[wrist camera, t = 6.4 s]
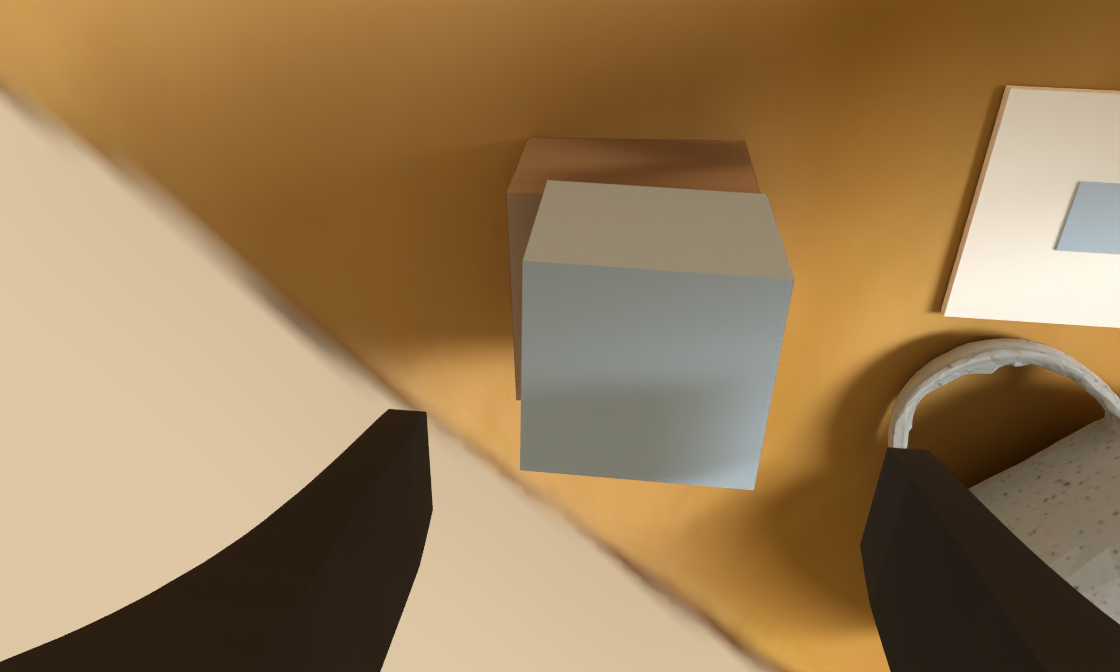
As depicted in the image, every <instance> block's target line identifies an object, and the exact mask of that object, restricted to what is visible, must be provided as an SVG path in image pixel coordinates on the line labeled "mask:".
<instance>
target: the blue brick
mask: <svg viewBox="0 0 1120 672" xmlns="http://www.w3.org/2000/svg"><path fill="white" fill-rule="evenodd" d="M793 284H794V277H793V274H792V271H791V268H790V265H789V262H788V259H787V255H786V252H785V249H784V246H783V243H782V240H781V237H780V234H779V231H778V227H777V224H776V221H775V218H774V215H773V212H772V209H771V206H770V203H769V199H768V196H767V194H757V193H741V192H725V191H710V190H694V189H679V188H663V187H648V186H632V185H616V184H601V183H585V182H570V181H554V180H547V183H546V186H545V190H544V193H543V196H542V199H541V203H540V206H539V209H538V212H537V216H536V219H535V222H534V225H533V229H532V232H531V235H530V238H529V242H528V245H527V248H526V251H525V255H524V258H523V273H522V360H521V448H520V470H525V471H536V472H548V473H560V474H571V475H583V476H594V477H606V478H618V479H629V480H641V481H652V482H664V483H675V484H687V485H699V486H710V487H722V488H733V489H745V490H754V486H755V481H756V476H757V471H758V465H759V460H760V455H761V450H762V445H763V439H764V434H765V429H766V424H767V419H768V413H769V408H770V403H771V398H772V393H773V388H774V382H775V377H776V372H777V367H778V362H779V356H780V351H781V346H782V341H783V336H784V330H785V325H786V320H787V315H788V310H789V304H790V299H791V294H792V289H793Z"/></svg>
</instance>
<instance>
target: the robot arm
mask: <svg viewBox="0 0 1120 672" xmlns="http://www.w3.org/2000/svg"><path fill="white" fill-rule="evenodd" d="M432 511H433V506H432V490H431V475H430V460H429V446H428V429H427V414H426V412H421V411H408V410H395V409H388V410H387V411H386V412H385V413H384V414H382V415H381V416H380V417H379V418H378V419H377V420H376V421H375V422H374V423H373V424H372V425H371V426H370V427H369V428H368V429H367V430H366V431H365V432H364V433H363V434H362V435H361V436H360V437H359V438H357V439H356V441H355V442H353V443H352V444H351V445H350V446H349V447H348V448H347V449H346V450H345V451H344V452H343V453H342V454H341V455H340V456H339V457H338V458H336V459H335V460H334V461H333V462H332V463H331V464H330V465H329V466H328V467H327V468H326V469H324V470H323V471H322V472H321V473H320V474H319V475H318V476H317V477H315V478H314V479H313V480H312V481H311V482H310V483H309V484H308V485H307V486H305V488H303V489H302V490H301V491H300V492H299V493H297V494H296V495H295V496H294V497H292V498H291V499H290V500H289V501H287V502H286V503H285V504H284V505H283V506H281V507H280V508H279V509H278V510H276V511H275V512H274V513H273V514H271V515H270V516H269V517H268V518H267V519H265V520H264V521H263V522H261V523H260V524H259V525H257V526H256V527H255V528H254V529H252V530H251V531H250V532H248V533H247V534H246V535H244V536H243V537H241V538H240V539H238V540H237V541H235V542H234V543H232V544H231V545H230V546H228V547H226V548H225V549H223V550H222V551H220V552H219V553H218V554H216V555H215V556H213V557H211V558H210V559H208V560H207V561H205V562H204V563H202V564H200V565H199V566H197V567H195V568H193V569H192V570H190V571H188V572H187V573H185V574H183V575H181V576H180V577H178V578H176V579H175V580H173V581H171V582H169V583H168V584H166V585H164V586H162V587H161V588H159V589H157V590H156V591H154V592H152V593H150V594H149V595H147V596H145V597H143V598H141V599H139V600H137V601H136V602H133V603H132V604H129V605H128V606H125V607H124V608H122V609H120V610H118V611H116V612H114V613H112V614H110V615H108V616H105V617H104V618H101V619H99V620H97V621H95V622H93V623H91V624H89V625H86V626H85V627H82V628H80V629H78V630H76V631H73V632H71V633H69V634H67V635H64V636H62V637H60V638H58V639H55V640H53V641H50V642H48V643H45V644H43V645H40V646H38V647H36V648H33V649H31V650H28V651H26V652H23V653H21V654H18V655H16V656H13V657H11V658H8V659H6V660H4V661H1V662H0V672H380V671H381V668H382V666H383V663H384V660H385V658H386V655H387V652H388V650H389V647H390V644H391V641H392V639H393V636H394V634H395V631H396V628H397V626H398V623H399V620H400V618H401V615H402V612H403V609H404V607H405V604H406V601H407V599H408V596H409V594H410V591H411V588H412V585H413V583H414V580H415V577H416V574H417V572H418V569H419V566H420V562H421V558H422V553H423V550H424V546H425V542H426V537H427V532H428V529H429V524H430V519H431V515H432ZM860 547H861V554H862V560H863V566H864V573H865V579H866V584H867V590H868V595H869V601H870V606H871V609H872V613H873V616H874V619H875V623H876V626H877V629H878V632H879V636H880V639H881V642H882V645H883V649H884V652H885V655H886V658H887V661H888V665H889V668H890V671H891V672H1120V624H1119V623H1117V622H1116V621H1115V620H1113V619H1112V618H1111V617H1109V616H1108V615H1107V614H1105V613H1104V612H1103V611H1102V610H1100V609H1099V608H1098V607H1097V606H1095V605H1094V604H1093V603H1092V602H1090V601H1089V600H1088V599H1087V598H1085V597H1084V596H1083V595H1082V594H1081V593H1079V592H1078V591H1077V590H1076V589H1075V588H1074V587H1073V586H1071V585H1070V584H1069V583H1068V582H1067V581H1066V580H1064V579H1063V578H1062V577H1061V576H1060V575H1059V574H1057V573H1056V572H1055V571H1054V570H1053V569H1052V568H1050V567H1049V566H1048V565H1047V564H1046V563H1045V562H1044V561H1043V560H1041V559H1040V558H1039V557H1038V556H1037V555H1036V554H1035V553H1034V552H1033V551H1032V550H1030V549H1029V548H1028V547H1027V546H1026V545H1025V544H1024V543H1023V542H1022V541H1021V540H1020V539H1019V538H1018V537H1016V536H1015V535H1014V534H1013V533H1012V532H1011V531H1010V530H1009V529H1008V528H1007V527H1006V526H1005V525H1004V524H1003V523H1002V522H1001V521H1000V520H999V519H998V518H997V517H996V516H995V515H994V514H993V513H992V512H991V511H990V510H989V509H988V508H987V507H986V506H985V505H984V504H983V503H982V502H981V501H980V500H979V499H978V498H977V497H976V496H975V495H974V494H973V493H972V492H971V491H970V490H969V489H968V488H967V487H966V486H965V485H964V484H963V483H962V482H961V481H960V480H959V479H958V478H957V477H956V476H955V475H954V474H953V473H952V472H951V471H950V470H949V469H948V468H947V467H946V466H945V465H944V464H943V463H941V462H940V461H939V460H938V459H937V458H936V457H935V456H934V455H933V454H932V453H931V452H930V451H929V450H918V449H905V448H892V447H888V448H887V452H886V455H885V459H884V463H883V466H882V470H881V473H880V477H879V480H878V484H877V488H876V491H875V495H874V498H873V502H872V505H871V509H870V513H869V516H868V520H867V523H866V527H865V530H864V534H863V538H862V541H861V545H860Z"/></svg>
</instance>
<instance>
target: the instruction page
mask: <svg viewBox="0 0 1120 672" xmlns="http://www.w3.org/2000/svg"><path fill="white" fill-rule="evenodd" d="M941 312H942V314H943V315H944V316H950V317H965V318H980V319H995V320H1010V321H1025V322H1041V323H1056V324H1071V325H1086V326H1101V327H1116V328H1120V91H1114V90H1093V89H1073V88H1052V87H1031V86H1011V85H1006V87H1005V91H1004V94H1003V98H1002V101H1001V105H1000V108H999V112H998V115H997V119H996V122H995V125H994V129H993V132H992V136H991V139H990V143H989V146H988V150H987V153H986V156H985V160H984V163H983V167H982V170H981V174H980V177H979V181H978V184H977V187H976V191H975V194H974V198H973V201H972V205H971V208H970V212H969V215H968V219H967V222H966V225H965V229H964V232H963V236H962V239H961V243H960V246H959V250H958V253H957V256H956V260H955V263H954V267H953V270H952V274H951V277H950V281H949V284H948V287H947V291H946V294H945V298H944V301H943V305H942V308H941Z"/></svg>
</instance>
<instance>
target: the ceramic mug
mask: <svg viewBox="0 0 1120 672" xmlns="http://www.w3.org/2000/svg"><path fill="white" fill-rule="evenodd" d="M1029 364H1033V365H1036V366H1040V367H1043V368H1046V369H1048V370H1051V371H1053V372H1056V373H1058V374H1061V375H1064V376H1067V377H1070V378H1072V379H1073V380H1074V381H1075V382H1076V383H1077V384H1078V385H1079V386H1081V387H1082V388H1083V389H1084V390H1086V391H1087V392H1088V393H1089V394H1090V395H1092V396H1093V397H1094V398H1095V399H1096V400H1097V401H1098V402H1099V404H1100V405H1101V406H1102V408H1103V409H1104V411H1105V417H1104V418H1102V419H1100V420H1098V421H1095V422H1093V423H1091V424H1089V425H1087V426H1085V427H1083V428H1081V429H1080V430H1078V431H1076V432H1074V433H1072V434H1071V435H1069V436H1067V437H1065V438H1063V439H1061V440H1059V441H1058V442H1056V443H1054V444H1052V445H1051V446H1049V447H1047V448H1046V449H1044V450H1042V451H1040V452H1039V453H1037V454H1035V455H1033V456H1032V457H1030V458H1028V459H1026V460H1024V461H1023V462H1021V463H1019V464H1017V465H1015V466H1013V467H1011V468H1009V469H1007V470H1005V471H1002V472H1001V473H998V474H996V475H994V476H992V477H990V478H988V479H986V480H984V481H982V482H980V483H978V484H977V485H975V486H973V487H971V488H969V490H970V491H971V492H972V493H973V494H974V495H975V496H976V497H977V498H978V499H979V500H980V501H981V502H982V503H983V504H984V505H985V506H986V507H987V508H988V509H989V510H990V511H991V512H992V513H993V514H994V515H995V516H996V517H997V518H998V519H999V520H1000V521H1001V522H1002V523H1003V524H1004V525H1005V526H1006V527H1007V528H1008V529H1009V530H1010V531H1011V532H1012V533H1013V534H1014V535H1015V536H1016V537H1018V538H1019V539H1020V540H1021V541H1022V542H1023V543H1024V544H1025V545H1026V546H1027V547H1028V548H1029V549H1030V550H1032V551H1033V552H1034V553H1035V554H1036V555H1037V556H1038V557H1039V558H1040V559H1041V560H1043V561H1044V562H1045V563H1046V564H1047V565H1048V566H1049V567H1050V568H1052V569H1053V570H1054V571H1055V572H1056V573H1057V574H1059V575H1060V576H1061V577H1062V578H1063V579H1064V580H1066V581H1067V582H1068V583H1069V584H1070V585H1071V586H1073V587H1074V588H1075V589H1076V590H1077V591H1078V592H1079V593H1081V594H1082V595H1083V596H1084V597H1085V598H1087V599H1088V600H1089V601H1090V602H1092V603H1093V604H1094V605H1095V606H1097V607H1098V608H1099V609H1100V610H1102V611H1103V612H1104V613H1105V614H1107V615H1108V616H1109V617H1111V618H1112V619H1113V620H1115V621H1116V622H1117V623H1119V624H1120V399H1119V397H1118V396H1117V395H1116V394H1115V393H1114V392H1113V391H1112V390H1111V389H1110V387H1109V386H1108V385H1107V384H1106V383H1105V382H1104V381H1103V380H1101V379H1100V378H1099V377H1098V376H1097V375H1096V374H1094V373H1093V372H1092V371H1090V370H1089V369H1087V368H1086V367H1085V366H1083V365H1082V364H1080V363H1079V362H1078V361H1076V360H1075V359H1073V358H1072V357H1071V356H1069V355H1068V354H1066V353H1064V352H1062V351H1060V350H1057V349H1055V348H1052V347H1050V346H1047V345H1045V344H1042V343H1037V342H1033V341H1030V340H1026V339H1013V338H999V339H988V340H981V341H975V342H970V343H967V344H964V345H961V346H959V347H956V348H954V349H952V350H950V351H948V352H946V353H944V354H942V355H940V356H938V357H936V358H934V359H933V360H931V361H930V362H929V363H927V364H926V365H925V366H924V367H922V368H921V369H920V370H919V371H917V372H916V373H915V374H914V375H913V376H912V377H911V378H910V379H909V380H908V382H907V383H906V384H905V386H904V387H903V389H902V390H901V391H900V393H899V394H898V396H897V398H896V400H895V402H894V404H893V406H892V410H891V415H890V419H889V427H888V447H892V448H905V449H907V444H908V434H909V431H910V429H911V428H912V419H913V415H914V412H915V410H916V407H917V404H918V403H919V402H920V400H921V399H922V398H923V397H924V396H925V395H926V394H928V393H930V392H932V391H933V390H935V389H937V388H939V387H941V386H943V385H945V384H947V383H949V382H951V381H953V380H954V379H956V378H958V377H960V376H963V375H966V374H992V373H993V372H994V371H995V370H997V369H998V368H1000V367H1002V366H1005V365H1012V366H1015V367H1017V366H1024V365H1029Z"/></svg>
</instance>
